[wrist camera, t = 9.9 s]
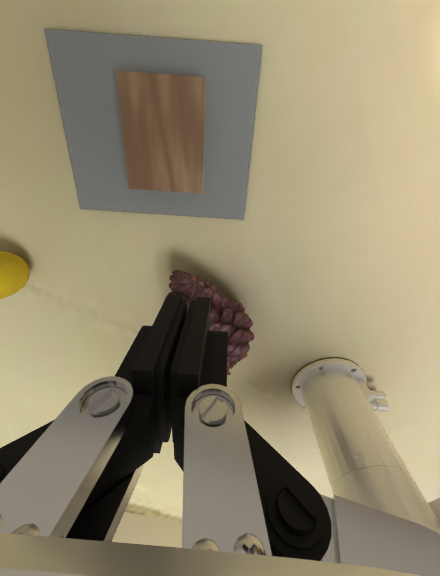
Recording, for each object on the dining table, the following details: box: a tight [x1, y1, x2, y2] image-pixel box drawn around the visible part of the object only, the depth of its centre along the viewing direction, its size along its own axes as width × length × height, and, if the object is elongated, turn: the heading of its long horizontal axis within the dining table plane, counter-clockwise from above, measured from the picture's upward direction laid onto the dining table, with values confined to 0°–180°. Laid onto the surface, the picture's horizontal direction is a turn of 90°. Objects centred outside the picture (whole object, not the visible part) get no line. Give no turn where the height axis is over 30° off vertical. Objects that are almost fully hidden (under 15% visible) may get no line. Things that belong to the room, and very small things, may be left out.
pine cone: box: [169, 270, 254, 375], centre depth 33 cm, size 18×10×10 cm, turn 26°
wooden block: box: [116, 71, 206, 194], centre depth 26 cm, size 2×10×8 cm
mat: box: [44, 29, 263, 220], centre depth 27 cm, size 20×16×1 cm
